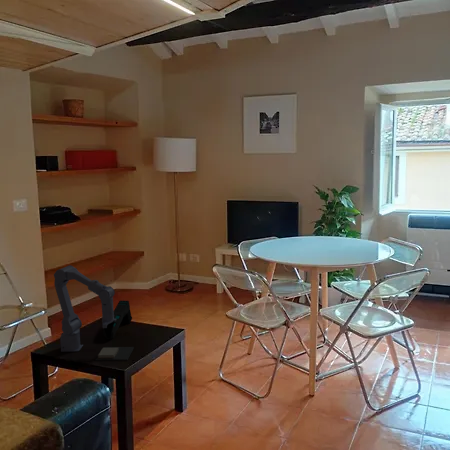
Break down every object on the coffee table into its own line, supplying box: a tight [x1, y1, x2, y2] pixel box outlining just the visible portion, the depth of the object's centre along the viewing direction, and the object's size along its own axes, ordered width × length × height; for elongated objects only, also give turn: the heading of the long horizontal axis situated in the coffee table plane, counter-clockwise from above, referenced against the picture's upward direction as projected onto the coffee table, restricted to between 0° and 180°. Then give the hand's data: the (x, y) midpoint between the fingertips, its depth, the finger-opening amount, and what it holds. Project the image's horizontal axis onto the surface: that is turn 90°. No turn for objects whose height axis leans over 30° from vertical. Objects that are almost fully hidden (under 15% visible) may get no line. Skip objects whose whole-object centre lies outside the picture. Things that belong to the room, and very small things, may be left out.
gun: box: [102, 300, 133, 340], centre depth 278 cm, size 7×29×15 cm, turn 171°
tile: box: [97, 347, 119, 358], centre depth 244 cm, size 8×2×9 cm
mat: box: [95, 346, 135, 362], centre depth 245 cm, size 16×15×1 cm
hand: (109, 336), depth 246 cm, fingers closed
